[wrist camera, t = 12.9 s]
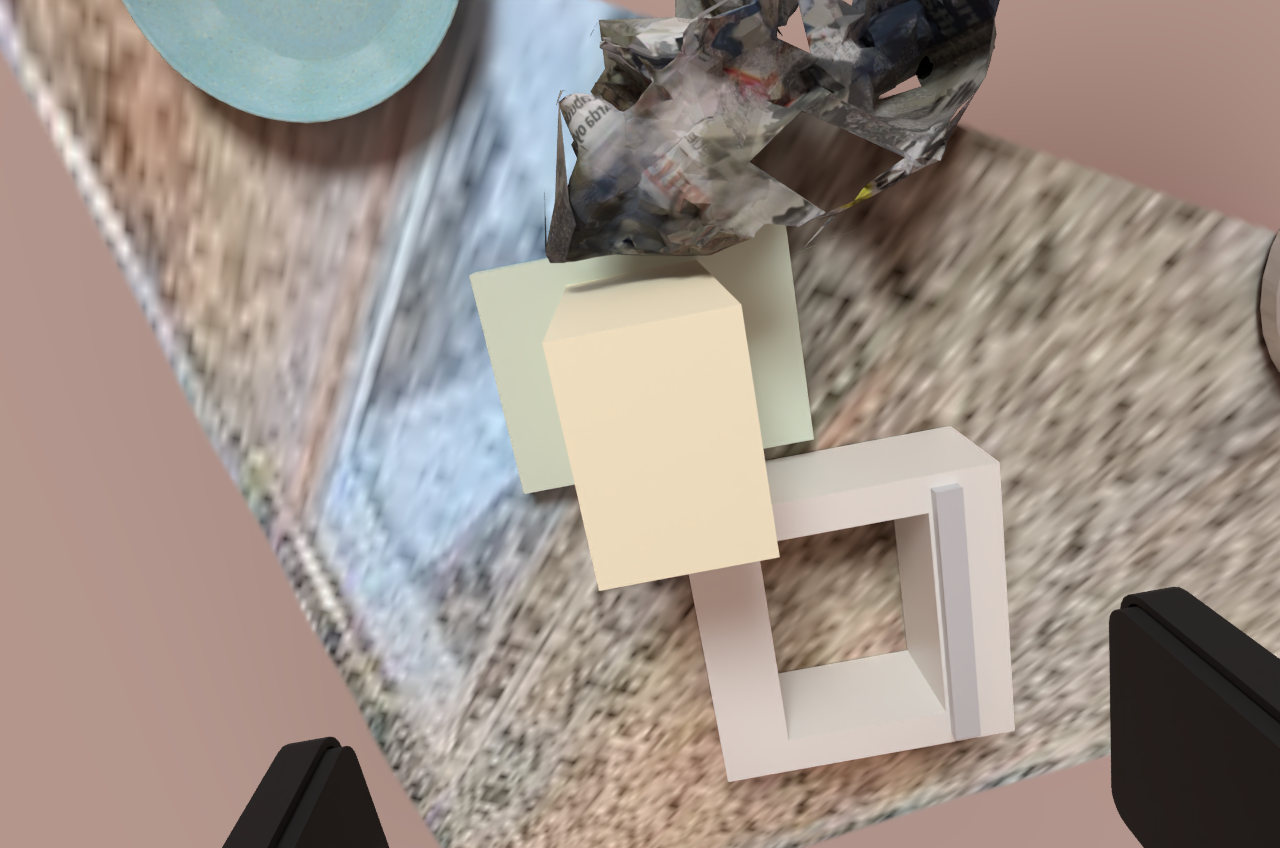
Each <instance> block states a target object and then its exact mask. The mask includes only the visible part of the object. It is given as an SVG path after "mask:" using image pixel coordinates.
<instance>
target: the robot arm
mask: <svg viewBox="0 0 1280 848" xmlns="http://www.w3.org/2000/svg"><path fill="white" fill-rule="evenodd" d="M1260 310H1261V319H1262V329H1263V336H1264V339H1265V342H1266V345H1267V348H1268V351H1269V354H1270V357H1271V360H1272V361H1273V363H1274V364H1275V366H1276V368H1277V369H1278V371H1279V373H1280V229H1279V232H1278V234H1277V236H1276V238H1275V240H1274V242H1273V245H1272V247H1271V250H1270V254H1269V257H1268V261H1267V265H1266V268H1265V272H1264V275H1263V282H1262V293H1261V304H1260ZM1109 651H1110V722H1111V788H1112V795H1113V799H1114V802H1115V805H1116V808H1117V810H1118V812H1119V814H1120V816H1121V818H1122V820H1123V821H1124V823H1125V824H1126V825H1127V827H1128V828H1129V829H1130V831H1131V832H1132V833H1133V834H1134V836H1135V837H1136V838H1137V840H1138V841H1139V842H1140V843H1141V845H1142V846H1143V847H1144V848H1280V659H1279V658H1277V657H1276V656H1275V655H1273V654H1272V653H1271V652H1269V651H1268V650H1267V649H1265V648H1264V647H1262V646H1261V645H1260V644H1258V643H1257V642H1256V641H1254V640H1253V639H1252V638H1250V637H1249V636H1247V635H1246V634H1245V633H1243V632H1242V631H1241V630H1239V629H1238V628H1237V627H1235V626H1234V625H1232V624H1231V623H1230V622H1228V621H1227V620H1226V619H1224V618H1223V617H1222V616H1220V615H1219V614H1217V613H1216V612H1215V611H1213V610H1212V609H1211V608H1209V607H1208V606H1206V605H1205V604H1204V603H1202V602H1201V601H1200V600H1198V599H1197V598H1196V597H1194V596H1193V595H1191V594H1190V593H1189V592H1187V591H1186V590H1184V589H1182V588H1180V587H1170V588H1164V589H1159V590H1153V591H1147V592H1142V593H1136V594H1131V595H1127V596H1126V597H1124V598H1123V601H1122V603H1121V608H1120V609H1118V610H1114V611H1113V612H1112V613H1111V615H1110V619H1109ZM222 848H389V846H388V843H387V840H386V837H385V834H384V832H383V829H382V826H381V823H380V821H379V818H378V815H377V812H376V809H375V806H374V803H373V801H372V798H371V795H370V792H369V790H368V787H367V784H366V781H365V778H364V776H363V773H362V770H361V767H360V764H359V762H358V759H357V756H356V754H355V752H354V750H353V749H352V748H351V747H349V746H344V747H341V745H340V743H339V741H338V740H337V739H336V738H334V737H325V738H320V739H314V740H308V741H302V742H297V743H291V744H287V745H285V746H283V747H282V748H281V750H280V751H279V752H278V754H277V756H276V757H275V759H274V761H273V762H272V764H271V766H270V767H269V769H268V771H267V773H266V774H265V776H264V777H263V779H262V781H261V783H260V784H259V786H258V788H257V789H256V791H255V793H254V794H253V796H252V798H251V800H250V801H249V803H248V805H247V806H246V808H245V810H244V812H243V813H242V815H241V816H240V818H239V820H238V822H237V823H236V825H235V827H234V828H233V830H232V832H231V833H230V835H229V837H228V838H227V840H226V842H225V844H224V845H223V847H222Z"/></svg>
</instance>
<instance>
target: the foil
mask: <svg viewBox="0 0 1280 848" xmlns="http://www.w3.org/2000/svg"><path fill="white" fill-rule="evenodd" d="M999 1H1000V0H853V3H852V6H851V5H849V4H847V3H846V2H844V1H842V0H675V2H676V3H675V9H676V10H675V15H676V16H675V17H666V18H640V19H614V20H599V24H600V32H601V40H602V42H600V48H601V49H603V55H604V63H605V70H604V72H603V73H602V75H601V76H600V78H599V79H598V81H597V82H596V83H595V85H594V87H593V88H592V90H591V93H592V94H593V95H589V94H580V93H574V94H571V95H567V96H566V97H565V98H563V99H562V100H561V101H560V102H558V101H559V98H560V96H561V94H562V92H563V90H562V91H560V94H559V97H558V100H557V103H559V114H558V139H557V165H556V191H555V205H554V210H553V215H552V220H551V225H550V231H549V236H548V241H547V243H546V218H545V252H546V255H547V258H548V260H549V262H550V263H565V262H576V261H581V260H585V259H590V258H595V257H602V256H608V255H638V256H697V255H700V256H707V255H713V254H715V253H717V252H720V251H722V250H724V249H726V248H728V247H731V246H734V245H736V244H739V243H741V242H744V241H747V240H749V239H752V238H754V236H755V233H756V232H757V231H758V230H759V229H760V228H761V227H762V226H763V225H764V224H772V225H788V226H796V227H799V226H801V225H802V224H804V223H806V222H807V221H809V220H813V219H818V218H822V217H827V216H830V218H829V219H828V220H827V221H826V222H825V223H824V225H823V226H822V227H821V228H820V229H819V230H818V232H817V233H816V234H815V235H814V236H813V237H812V239H813V238H814V237H815V236H816V235H817V234H818V233H819V232H820V231H821V230H822V229H823V228H824V227H825V226H826V225H827V224H828V223H829V222H830V221H831V220H832V219H833V218H834V217H835V216H836V215H837V214H838V213H840V212H842V211H844V210H846V209H848V208H850V207H852V206H853V205H855V204H857V203H859V202H861V201H863V200H865V199H867V198H869V197H871V196H873V195H875V194H877V193H879V192H881V191H883V190H885V189H887V188H889V187H891V186H893V185H894V184H896V183H898V182H899V181H901V180H903V179H905V178H906V177H908V176H910V175H912V174H913V173H915V172H917V171H918V170H920V169H922V168H924V167H925V166H927V165H930V164H933V163H935V162H938V161H941V158H942V156H943V154H944V152H945V149H946V147H947V143H948V138H949V137H950V135H951V133H952V132H953V130H954V128H955V127H956V125H957V123H958V122H959V120H960V118H961V116H962V115H963V113H964V111H965V110H966V108H967V106H968V105H969V103H970V101H971V100H972V98H973V96H974V94H975V93H976V91H977V90H978V88H979V87H980V85H981V83H982V82H983V80H984V78H985V77H986V74H987V71H988V67H989V64H990V60H991V56H992V52H993V49H994V48H995V45H994V43H995V38H996V28H995V20H994V19H995V16H996V12H997V8H998V4H999ZM798 5H799V7H800V11H801V15H802V19H803V23H804V28H805V32H806V36H807V40H808V44H809V48H810V52H811V54H810V53H808V52H806V51H804V50H802V49H799V48H797V47H795V46H793V45H791V44H789V43H787V42H784V41H782V40H780V39H778V38H777V31H778V32H779V33H780V31H779V29H778V27H779V26H785V25H786V24H787V21H788V18H789V17H790V16H791V15H792V14H793V13H794V12H795V11H796V9H797V7H798ZM596 25H597V24H596ZM592 32H593V31H592ZM591 34H592V33H591ZM780 34H781V33H780ZM781 35H782V34H781ZM590 36H591V35H590ZM589 38H590V37H589ZM915 75H916V76H917V78H918V80H919V82H920V84H921V87H918V88H915V89H912V90H909V91H906V92H902V93H899V94H896V95H893V96H890V97H886V98H883V99H880V100H878V98H879V96H880V95H882V94H884V93H886V92H887V91H889V90H891V89H893V88H895V87H896V85H898V84H900V83H901V82H904V81H905V80H907V79H909V78H911V77H913V76H915ZM972 95H973V96H972ZM971 96H972V97H971ZM970 97H971V99H970V100H969V101H968V102H967V103H966V104H965V106H964V107H963V108H962V109H961V110H960V111H959V113H958V114H957V115H956V116H955V117H954V118H953V120H952V121H951V122H950V123H949V124H948V122H949V121H950V119H951V118H952V117H953V115H954V114H955V112H956V111H957V109H958V108H959V107H960V106H961V105H962V104H964V103H965V102H966V101H967V100H968V99H969V98H970ZM556 105H557V104H556ZM560 109H561V111H562V114H563V117H564V119H565V121H566V124H567V126H568V128H569V131H570V133H571V135H572V138H573V140H574V141H573V143H572V144H571V145H572V147H573V150H574V152H575V154H576V157H577V161H576V164H575V167H574V169H573V172H572V175H571V177H570V180H569V185H568V186H567V176H566V166H565V155H564V145H563V135H562V125H561V114H560ZM801 111H803V112H806V113H808V114H811V115H813V116H815V117H818V118H820V119H822V120H825V121H827V122H829V123H831V124H833V125H836V126H838V127H840V128H842V129H844V130H846V131H849V132H851V133H853V134H855V135H857V136H860V137H862V138H864V139H866V140H868V141H870V142H873V143H875V144H877V145H879V146H881V147H884V148H886V149H888V150H890V151H892V152H894V153H897V154H899V155H901V156H903V157H905V158H904V159H902V160H901V161H899V162H898V163H896V164H895V165H894V166H892V167H891V168H889V169H888V170H886V171H885V172H883V173H882V174H880V175H879V176H878V177H876V178H875V179H873V180H872V181H871V182H870V183H869V184H867V185H866V186H865V187H864V188H863V189H862V190H861V192H860V193H859V195H858V196H857V197H856V199H855V200H854V201H853V202H850V203H848V204H846V205H843V206H841V207H839V208H836V209H834V210H831V211H829V212H827V213H826V212H824V211H823V210H821V209H820V208H818V207H817V206H815V205H814V204H812V203H811V202H809V201H808V200H806V199H805V198H803V197H802V196H800V195H799V194H797V193H796V192H794V191H793V190H791V189H790V188H788V187H787V186H785V185H784V184H782V183H781V182H779V181H778V180H776V179H775V178H773V177H772V176H770V175H769V174H767V173H766V172H764V171H763V170H761V169H760V168H758V167H757V166H755V165H753V164H752V163H750V161H751V160H752V159H753V158H754V157H755V156H756V155H757V154H758V153H759V152H760V151H761V150H762V149H763V148H764V147H765V146H766V145H767V144H768V143H769V142H770V141H771V140H772V139H773V138H774V137H775V136H776V135H777V134H778V133H779V132H780V131H781V130H782V129H783V128H784V127H785V126H787V125H788V124H789V123H790V122H791V121H792V120H793V119H794V118H795V117H796V116H797V115H798V114H799V113H800V112H801ZM947 124H948V125H947ZM946 125H947V127H946ZM945 127H946V128H945ZM944 128H945V129H944ZM544 198H545V192H544ZM851 232H852V231H851ZM846 234H847V233H846ZM843 235H844V234H843ZM838 237H839V236H838ZM812 239H811V240H812ZM833 239H834V238H833ZM811 240H810V241H811ZM830 240H831V239H830ZM810 241H809V242H810ZM828 241H829V240H828ZM809 242H808V243H809ZM825 242H826V241H825ZM808 243H807V244H808ZM822 243H824V242H822ZM807 244H806V245H807ZM820 244H821V243H820ZM817 245H818V244H817ZM815 246H816V245H815ZM812 247H813V246H812ZM809 248H811V247H809ZM807 249H808V248H807ZM804 250H806V249H804ZM802 251H803V250H802ZM799 252H801V251H799ZM797 253H798V252H797ZM792 255H793V254H792Z"/></svg>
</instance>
